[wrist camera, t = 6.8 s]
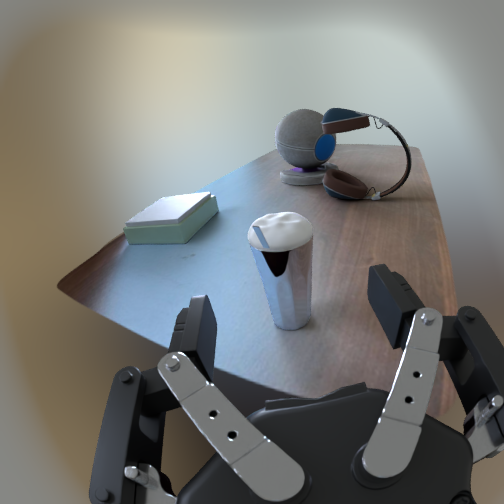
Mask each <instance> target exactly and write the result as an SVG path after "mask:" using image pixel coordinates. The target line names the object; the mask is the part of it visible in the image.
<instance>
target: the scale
mask: <svg viewBox="0 0 504 504" xmlns="http://www.w3.org/2000/svg"><path fill="white" fill-rule="evenodd" d="M218 211H219V210H218V205H217V201H216V197H215V195H211V193H210V192H206V193H196V194H189V195H188V194H187V195H179V196H171V197H162V198H160V199H159V200H157V201H156V202H154V203H153V204H151V205H150V206H148V207H147V208H145V209H144V210H143V211H141V212H140V213H138V214H137V215H135V216H134V217H133V218H131V219H130V220H128V221H127V222H126V223H125V224H126V227H125V228H123V230H124V233H125V235H126V238H127V241H128V243H129V244H186V243H187V242H188V241H189V240H190V239H191V238H192V237H193V236H194V235H195V234H196V233H197V232H198V231H199V230H200V229H201V228H202V227H203V226H204V225H205V224H206V223H207V222H208V221H209V220H210V219H211V218H212V217H213V216H214V215H215V214H216V213H217V212H218Z"/></svg>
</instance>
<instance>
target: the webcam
mask: <svg viewBox="0 0 504 504" xmlns="http://www.w3.org/2000/svg"><path fill="white" fill-rule="evenodd" d="M322 119H323V115H322V114H320V113H318V112H316V111H312V110H308V109H300V110H296V111H293V112H291V113H289V114H287V115H286V116H285V117H284V118H283V119H282V120H281V121H280V122H279V124H278V126H277V128H276V132H275V144H276V148H277V150H278V152H279V154H280V155H281V157H282V158H283V159H284V160H285V161H286V162H288V163H289V164H291V165H293V166H295V167H298V168H294V169H291V170H283V171H281V173H280V177H281V181H282V182H284V183H287V184H293V185H313V184H320V183H323V182H322V179H323V178H324V175H325V172H326V171H327V170H329V169H337V170H339V169H338V167H337V166H336V165H334V164H331V163H325V162H326V161H328V160H329V158H330V157H331V156H332V154H333V152H334V150H335V146H336V134H324V132H323V128H322V123H320V122H322ZM288 174H291V175H288ZM296 175H298V176H296ZM302 176H304V177H302ZM309 177H312V178H309ZM317 178H319V179H317Z"/></svg>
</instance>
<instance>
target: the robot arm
mask: <svg viewBox="0 0 504 504" xmlns="http://www.w3.org/2000/svg"><path fill="white" fill-rule="evenodd" d="M367 293H368V300H369V303H370V305H371V306H372V308H373V310H374V312H375V314H376V316H377V318H378V320H379V322H380V324H381V326H382V328H383V330H384V332H385V334H386V336H387V338H388V340H389V342H390V344H391V346H392V348H393V349H397V348H400V347H401V348H402V350H403V352H404V353H403V356H402V359H401V362H400V365H399V368H398V371H397V374H396V377H395V380H394V382H393V385H392V388H391V390H390V393H389V392H387V391H384V390H380V389H373V388H367V387H366V384H365V382H362V383H358V384H354V385H350V386H346V387H342V388H339V389H337V390H335V391H333V392H331V393H329V394H326V395H324V396H322V397H319V398H315V399H313V398H291V397H290V398H283V399H276V400H269V401H265V408H263V409H260V410H258V411H256V412H254V413H253V414H251V415H249V416H248V417H247V418H245V417H244V416H243V415H242V414H241V413H240V412H239V411H238V410H237V409H236V408H235V407H234V406H233V405H232V403H231V402H230V401H229V400H228V399H227V398H226V397H225V396H224V395H223V394H222V393H221V392H220V391H219V390H218V389H217V387H216V386H214V384H213V383H212V381H213V369H214V358H215V347H216V336H217V322H216V318H215V315H214V312H213V309H212V306H211V303H210V301H209V298H208V296H207V295H202V296H195V297H192V298H191V301H190V305H189V308H183V309H182V310H181V312H180V313H179V314H178V316H177V319H176V323H175V324H176V325H175V327H174V332H173V335H172V339H171V342H170V346H169V351H168V354H167V355H165V356H164V357H163V358H162V359H161V360H160V361H159V363H158V366H157V367H155V368H153V369H149V370H146V371H143V372H140V371H139V370H138V368H136V367H133V366H128V367H125V368H122V369H121V370H120V371H118V372H117V373H116V375H115V377H114V380H113V383H112V386H111V391H110V394H109V398H108V401H107V405H106V409H105V413H104V417H103V421H102V426H101V430H100V435H99V439H98V444H97V448H96V453H95V458H94V464H93V469H92V475H91V482H90V488H89V498H90V501H91V503H92V504H476V502H475V500H474V498H473V496H472V494H471V484H470V481H471V471H472V466H473V464H475V463H476V462H478V461H480V460H482V459H484V458H492V457H494V456H495V455H497V454H498V453H500V452H501V451H502V450H504V347H503V345H502V344H501V342H500V341H499V339H498V338H497V336H496V335H495V333H494V332H493V330H492V328H491V327H490V326H489V324H488V323H487V321H486V320H485V318H484V317H483V316H482V314H481V313H480V311H478V310H477V309H476V308H474V307H471V306H464V307H461V308H460V309H459V310H458V313H457V315H456V316H442V315H441V314H440V313H439V312H438V311H437V310H435V309H433V308H427V307H425V306H424V304H423V303H422V302H421V300H420V299H419V297H418V296H417V295H416V293H415V292H414V291H413V290H412V288H411V287H410V285H409V284H408V282H407V281H406V280H405V279H404V277H403V276H401V275H400V274H398V273H397V272H391V271H390V270H389V269H388V267H387V266H386V265H385V264H380V265H375V266H370V268H369V277H368V290H367ZM470 353H471V354H470ZM438 361H443V362H444V364H445V366H446V368H447V370H448V373H449V375H450V377H451V379H452V381H453V384H454V386H455V388H456V390H457V393H458V395H459V397H460V400H461V402H462V405H463V407H464V409H465V412H466V415H467V416H466V418H465V420H464V424H463V426H464V435H463V434H461V433H460V432H458V431H456V430H454V429H452V428H451V427H449V426H447V425H445V424H443V423H442V422H440V421H438V420H436V419H435V418H433V417H431V416H429V415H427V414H426V410H427V406H428V403H429V399H430V395H431V392H432V388H433V384H434V380H435V375H436V371H437V366H438ZM179 407H183V409H184V410H185V411H186V413H187V414H188V416H189V417H190V418H191V420H192V421H193V422H194V424H195V425H196V426H197V427H198V429H199V430H200V431H201V433H202V434H203V435H204V436H205V438H206V439H207V440H208V441H209V442H210V444H211V445H212V446H213V447H214V448H215V450H216V451H217V452H216V453H215V454H214V455H213V456H212V457H211V458H210V460H209V461H208V462H207V463H206V464H205V465H204V466H203V467H202V468H201V469H200V470H199V472H198V473H197V474H196V475H195V476H194V477H193V478H192V479H191V480H190V481H189V482H188V483H187V484H186V485H185V486H184V487H183V488H182V490H181V491H180V492H179V494H178V496H176V495H175V494H174V493H173V491H172V487H171V482H170V479H169V478H168V477H167V476H166V475H165V474H164V473H162V472H161V459H162V458H161V457H162V446H163V436H164V426H165V415H166V411H169V410H173V409H176V408H179Z"/></svg>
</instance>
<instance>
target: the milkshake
mask: <svg viewBox="0 0 504 504" xmlns="http://www.w3.org/2000/svg"><path fill="white" fill-rule="evenodd" d="M248 241H249V244H250V247H251V250H252V253H253V256H254V259H255V262H256V265H257V268H258V271H259V274H260V276H261V279H262V282H263V286H264V289H265V293H266V296H267V300H268V304H269V307H270V311H271V314H272V317H273V321H274V324H275V325H276V326H278V327H280V328H281V329H283V330H297V329H298V328H300V327H302V326H304V325H306V324H307V322H308V320H309V318H310V316H311V296H312V252H313V226H312V224H311V223H310V221H309V220H307V219H306V218H304V217H303V216H301V215H299V214H297V213H294V212H282V213H277V214H267V215H265V216H264V217H262V218H259V219H257V220H255V221H254V222H253V223H252V225H251V227H250V228H249V231H248Z"/></svg>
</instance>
